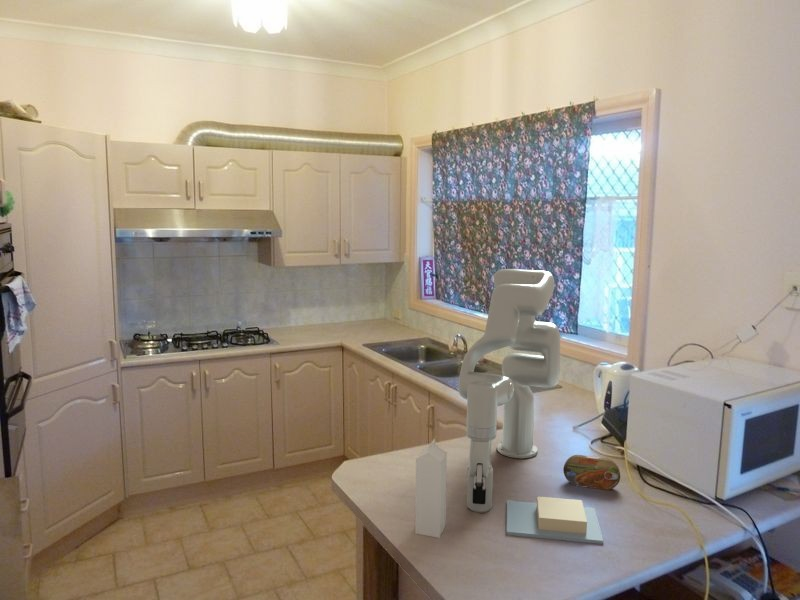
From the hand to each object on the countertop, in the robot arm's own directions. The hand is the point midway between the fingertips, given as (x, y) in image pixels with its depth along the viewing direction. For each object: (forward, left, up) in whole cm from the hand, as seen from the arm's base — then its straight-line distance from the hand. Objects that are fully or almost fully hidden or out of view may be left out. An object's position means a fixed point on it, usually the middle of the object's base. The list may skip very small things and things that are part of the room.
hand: (479, 496), depth 159 cm
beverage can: (0, 0, -3) cm, 3 cm away
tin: (-19, +30, -3) cm, 36 cm away
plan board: (+4, +18, -3) cm, 19 cm away
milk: (+13, -11, -3) cm, 17 cm away
